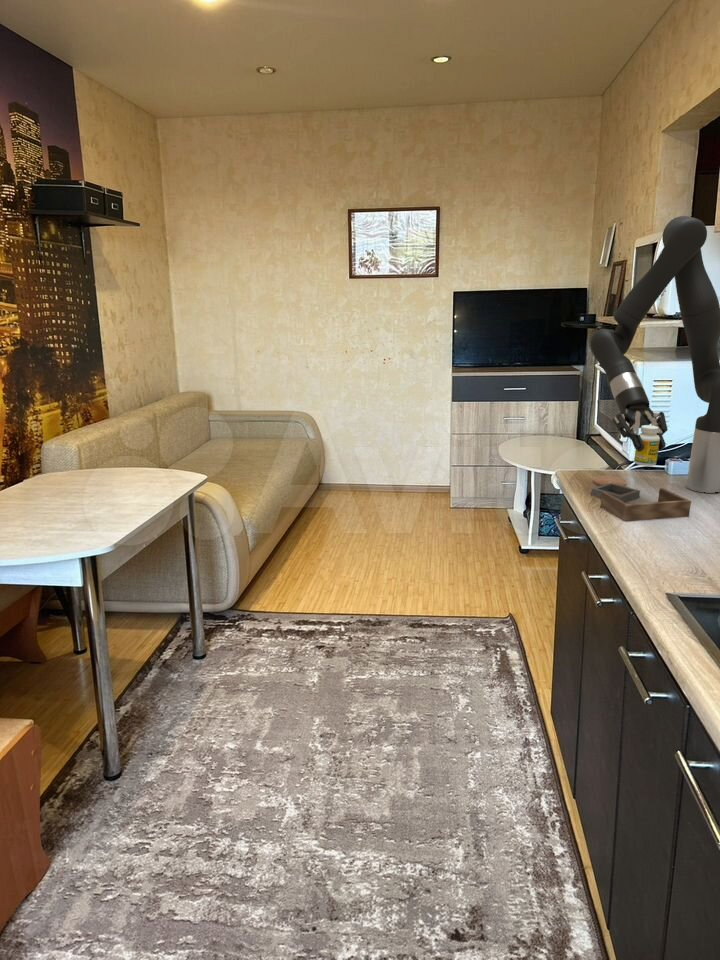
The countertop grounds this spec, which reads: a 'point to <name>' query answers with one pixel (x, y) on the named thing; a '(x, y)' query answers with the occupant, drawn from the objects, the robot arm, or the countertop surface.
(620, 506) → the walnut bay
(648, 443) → the supplement bottle
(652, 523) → the countertop surface
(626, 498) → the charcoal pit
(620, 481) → the tan round disc
